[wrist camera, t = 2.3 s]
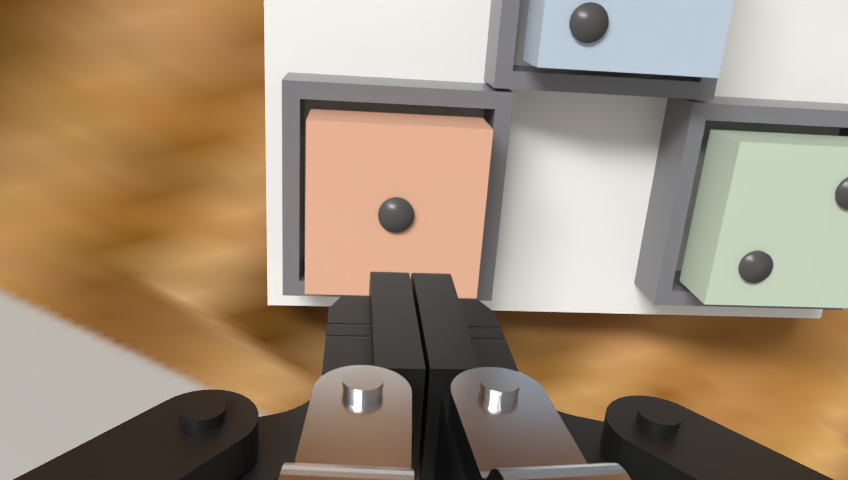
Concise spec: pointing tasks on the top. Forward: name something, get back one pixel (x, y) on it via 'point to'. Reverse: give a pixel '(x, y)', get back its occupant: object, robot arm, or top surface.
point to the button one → (393, 198)
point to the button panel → (548, 138)
